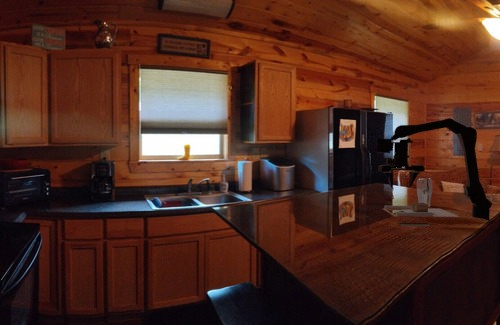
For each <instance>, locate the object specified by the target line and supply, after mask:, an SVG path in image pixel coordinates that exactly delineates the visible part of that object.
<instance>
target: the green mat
mask: <svg viewBox="0 0 500 325" xmlns="http://www.w3.org/2000/svg"><path fill="white" fill-rule="evenodd" d="M396 224H397V225H399V226H400V227H430V223H427V222H396Z"/></svg>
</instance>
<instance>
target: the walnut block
mask: <svg viewBox="0 0 500 325" xmlns="http://www.w3.org/2000/svg"><path fill="white" fill-rule="evenodd" d="M411 206H412V212H428V209H429V207H428V204H425V203H418V202H411Z"/></svg>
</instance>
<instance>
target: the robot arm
mask: <svg viewBox="0 0 500 325" xmlns="http://www.w3.org/2000/svg"><path fill="white" fill-rule="evenodd" d="M439 129H440V130H441V129H447V130H449V131H451V132H452V134H455V135H456V136H457V138H458V140H459V143H460V145H461V147H462V150H463V151H462V152H463V156H464V166H465V172H466V179H467V183H466V185H463V186H462V187H463V190H464V192H463V195H464V196H465V197H466V199H468V200H469V201H470V203H471V204H472V209H471V210H472V211H471V216H472V217H473V218H476V219H480V220H485V221H488V222H490V223H491V222H492V223H494V220H492V219H490V210H491V208H492V205H493V203H492V202H491V201H490V200H489V199H488V198H487V195H486V193H485V190H484V188H483V184H482V182H480V181H481V180H480V174H479V169H478V167H479V166H478V161H477V154H476V153H477V152H476V144H477V140H478V131H477V130H476V128H474V127H472V126H466V125H464V124H462V123H460V122H458V121H456V120H454V119H453V118H451V117H449V118H445V119H440V120H436V121H431V122H425V123H419V124H401V125H398V126H396V128H395V129H394V132H393V133H394V134H393V135H392V136H391V137H390V138H377V146H376V152H377V153H376V154H391V152H392V151H393V150H394V151H393V152H394V153H393V155H392V158H391V157H388V158H385V164H380V165H378V167H377V170H378V172H381V173H382V174H384V175H385V177H386V178H387V180H388V184H389V186H390V188H393V184H394V183H393V182H394V181H393V180H394V179H393V176H394V175H393V174H394V172H392V171H408V174H409V179H408V187H409V188H411V187H412V186H413V184H414V182H415V180H416V178H417V177H418V175H420V174H421V172H422V173H424V172H425V170H426V169H425V168H426V167H425V166H424V165H421V164H411V165H410V164H409V158H410V155H409V144H412V143H414V141H413V140H412V139H411V138H410V136H413V135H415V134H418V133H419V134H420V133H422V132H423V133H424V132H430V131H435V130H439ZM407 137H408V138H407ZM405 138H407V139H405ZM398 139H399V141H397V140H398Z"/></svg>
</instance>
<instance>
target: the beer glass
mask: <svg viewBox="0 0 500 325" xmlns="http://www.w3.org/2000/svg"><path fill="white" fill-rule="evenodd" d="M416 194H417V200H418V201H417V203H425V204H428V208H431V200H432V194H433V179H432V178H421V177H420V178H417V180H416Z"/></svg>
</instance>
